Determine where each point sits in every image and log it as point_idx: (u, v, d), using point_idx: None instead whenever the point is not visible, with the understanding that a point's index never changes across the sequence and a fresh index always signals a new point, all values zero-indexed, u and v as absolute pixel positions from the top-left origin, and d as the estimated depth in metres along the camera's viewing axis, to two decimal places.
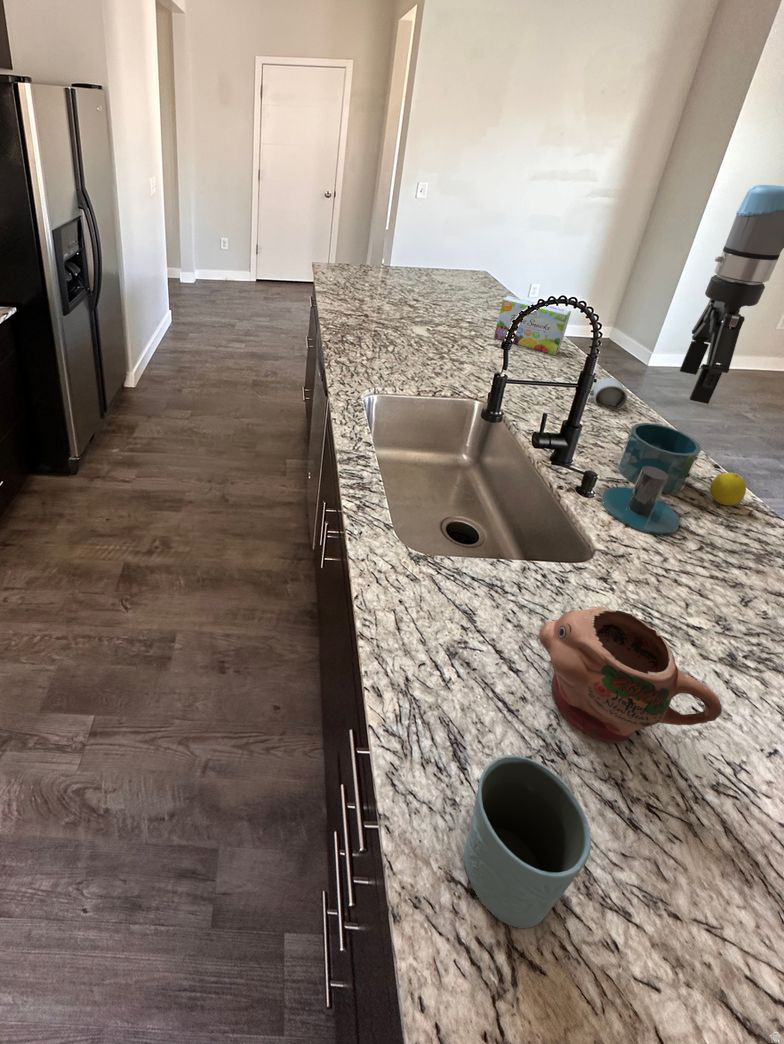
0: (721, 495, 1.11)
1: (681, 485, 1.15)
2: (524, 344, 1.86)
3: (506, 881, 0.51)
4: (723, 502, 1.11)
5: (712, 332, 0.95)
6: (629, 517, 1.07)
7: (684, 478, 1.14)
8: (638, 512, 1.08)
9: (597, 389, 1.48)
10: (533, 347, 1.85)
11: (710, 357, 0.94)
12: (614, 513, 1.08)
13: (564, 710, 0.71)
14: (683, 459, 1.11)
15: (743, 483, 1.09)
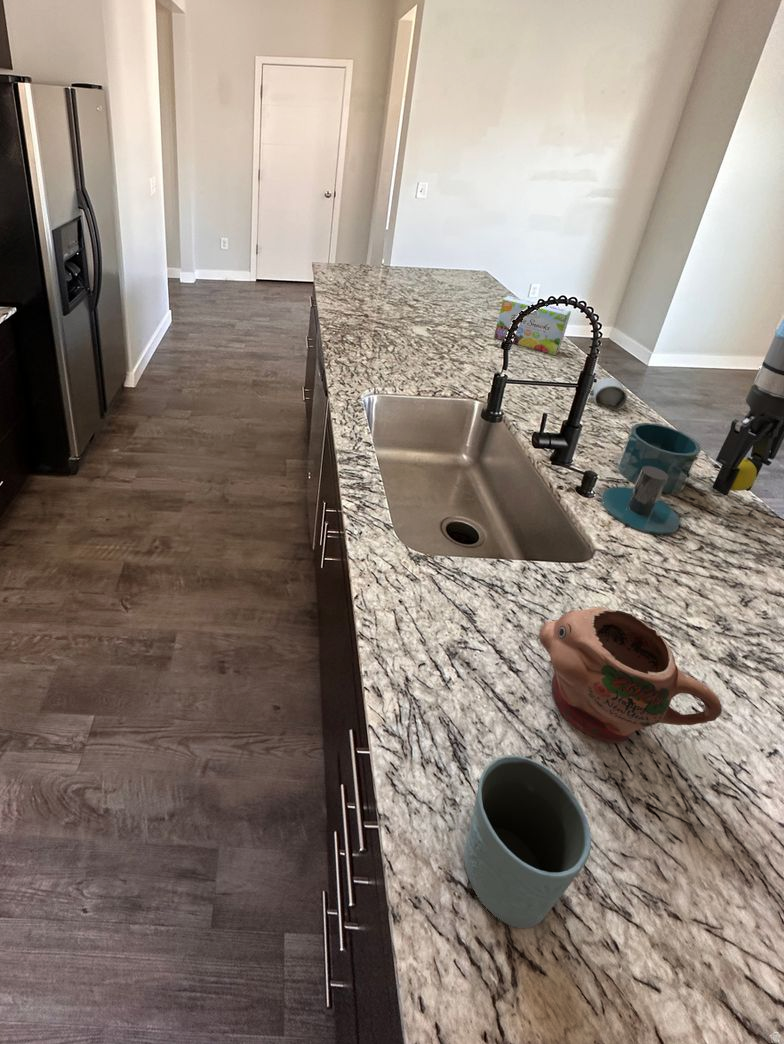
0: None
1: (681, 485, 1.15)
2: (524, 344, 1.86)
3: (506, 881, 0.51)
4: (733, 487, 1.09)
5: None
6: (629, 517, 1.07)
7: (684, 478, 1.14)
8: (638, 512, 1.08)
9: (597, 389, 1.48)
10: (533, 347, 1.85)
11: None
12: (614, 513, 1.08)
13: (564, 710, 0.71)
14: (683, 459, 1.11)
15: (753, 468, 1.07)
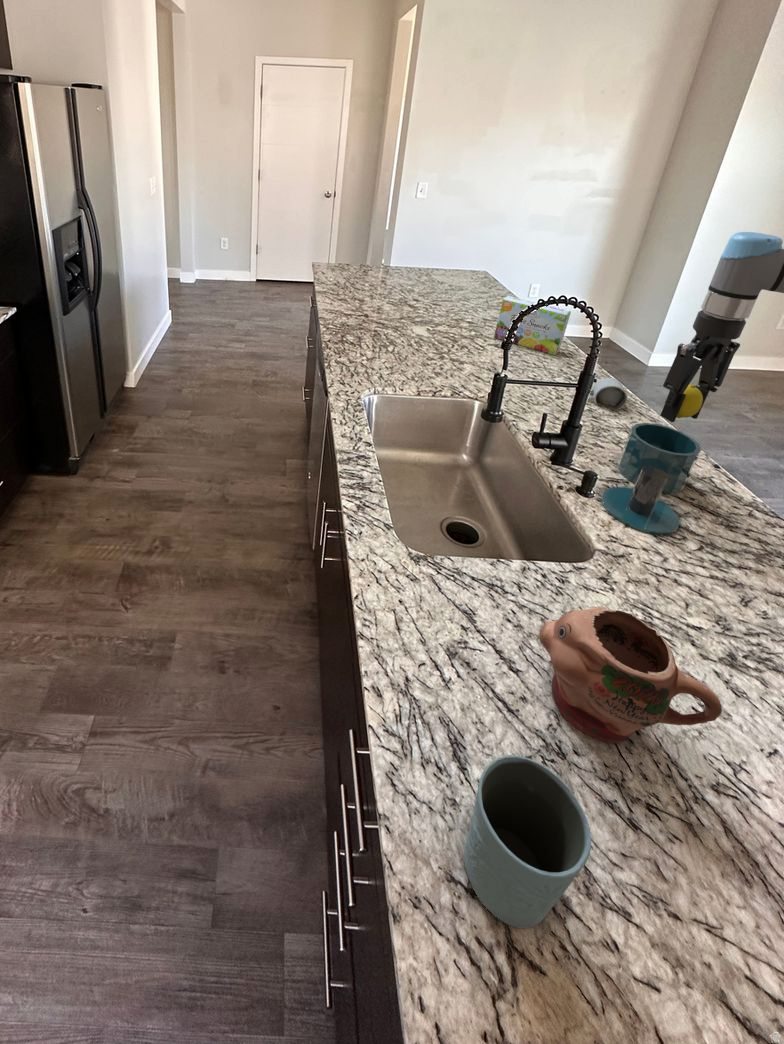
0: None
1: (681, 485, 1.15)
2: (524, 344, 1.86)
3: (506, 881, 0.51)
4: (680, 414, 1.11)
5: None
6: (629, 517, 1.07)
7: (684, 478, 1.14)
8: (638, 512, 1.08)
9: (597, 389, 1.48)
10: (533, 347, 1.85)
11: None
12: (614, 513, 1.08)
13: (564, 710, 0.71)
14: (683, 459, 1.11)
15: (699, 393, 1.09)
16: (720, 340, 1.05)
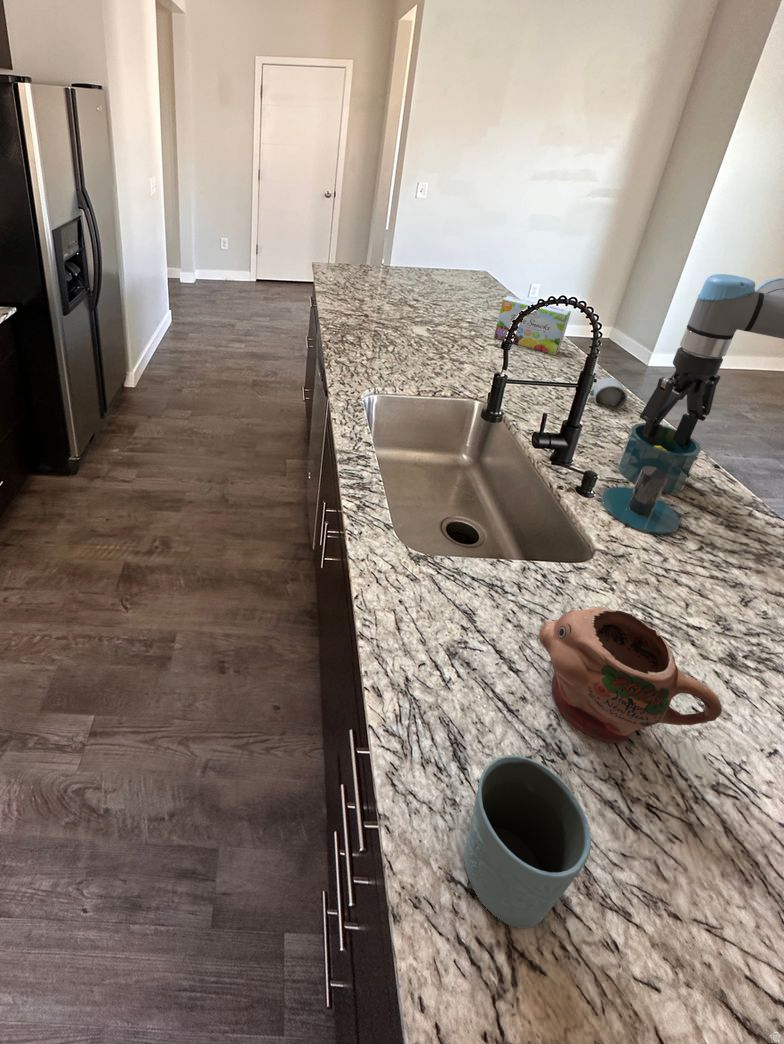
0: None
1: (681, 485, 1.15)
2: (524, 344, 1.86)
3: (506, 881, 0.51)
4: None
5: None
6: (629, 517, 1.07)
7: (684, 478, 1.14)
8: (638, 512, 1.08)
9: (597, 389, 1.48)
10: (533, 347, 1.85)
11: None
12: (614, 513, 1.08)
13: (564, 710, 0.71)
14: (683, 459, 1.11)
15: None
16: (699, 376, 1.09)
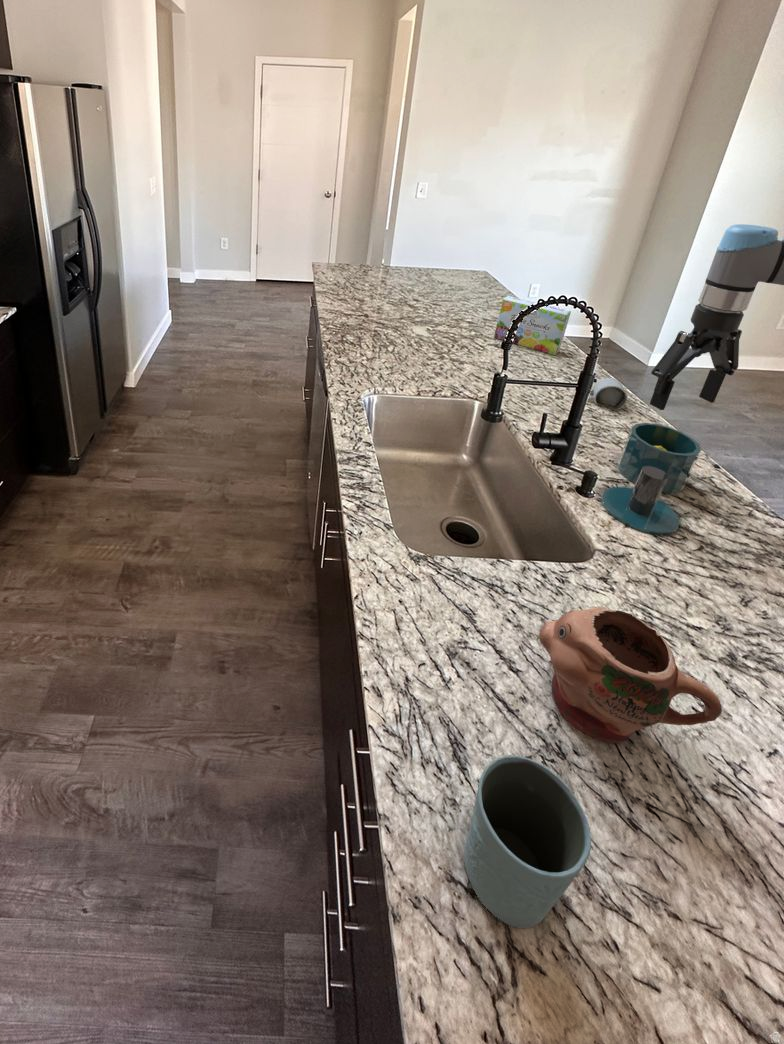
0: None
1: (681, 485, 1.15)
2: (524, 344, 1.86)
3: (506, 881, 0.51)
4: None
5: None
6: (629, 517, 1.07)
7: (684, 478, 1.14)
8: (638, 512, 1.08)
9: (597, 389, 1.48)
10: (533, 347, 1.85)
11: None
12: (614, 513, 1.08)
13: (564, 710, 0.71)
14: (683, 459, 1.11)
15: None
16: (718, 333, 1.05)
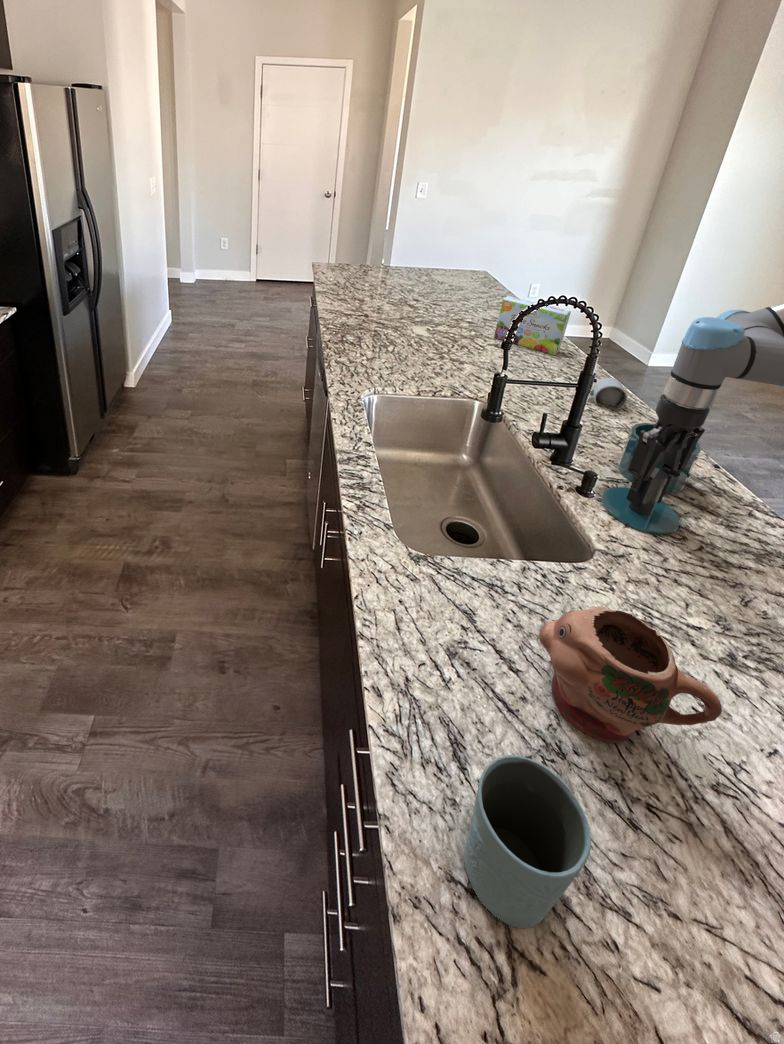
0: None
1: (681, 485, 1.15)
2: (524, 344, 1.86)
3: (506, 881, 0.51)
4: None
5: None
6: (629, 517, 1.07)
7: (684, 478, 1.14)
8: (638, 512, 1.08)
9: (597, 389, 1.48)
10: (533, 347, 1.85)
11: None
12: (614, 513, 1.08)
13: (564, 710, 0.71)
14: None
15: None
16: (683, 426, 1.00)
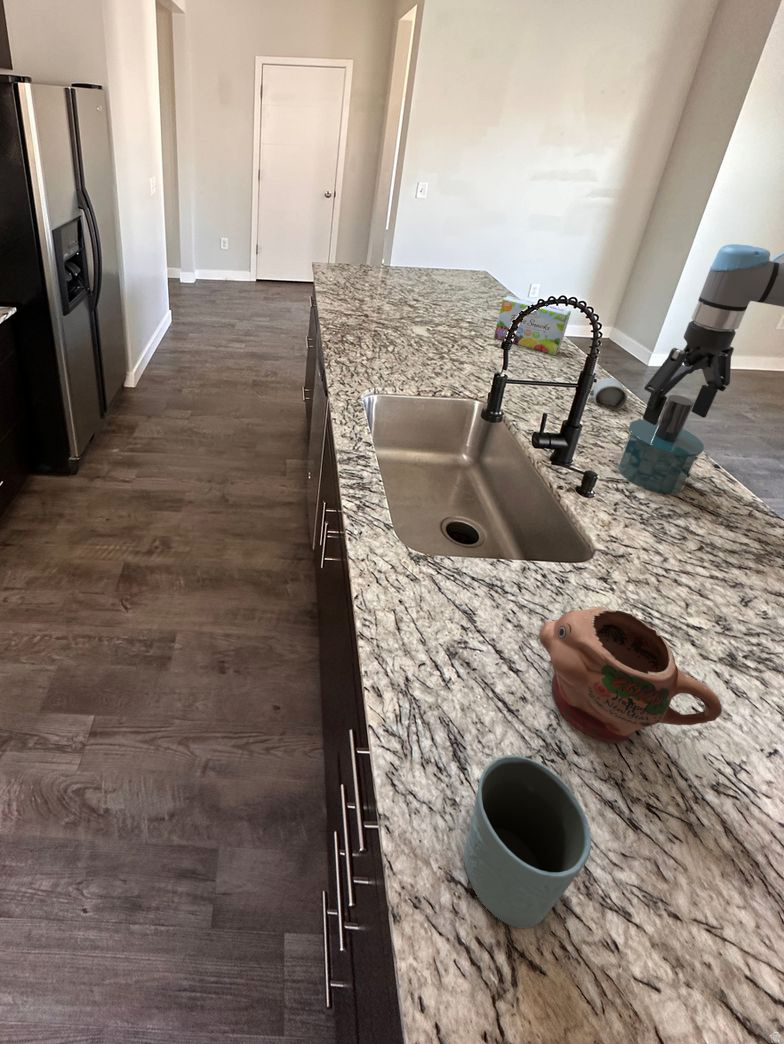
0: None
1: (681, 485, 1.15)
2: (524, 344, 1.86)
3: (506, 881, 0.51)
4: None
5: None
6: (656, 442, 1.14)
7: (684, 478, 1.14)
8: (664, 438, 1.15)
9: (597, 389, 1.48)
10: (533, 347, 1.85)
11: None
12: (642, 439, 1.15)
13: (564, 710, 0.71)
14: (683, 459, 1.11)
15: None
16: (710, 350, 1.07)
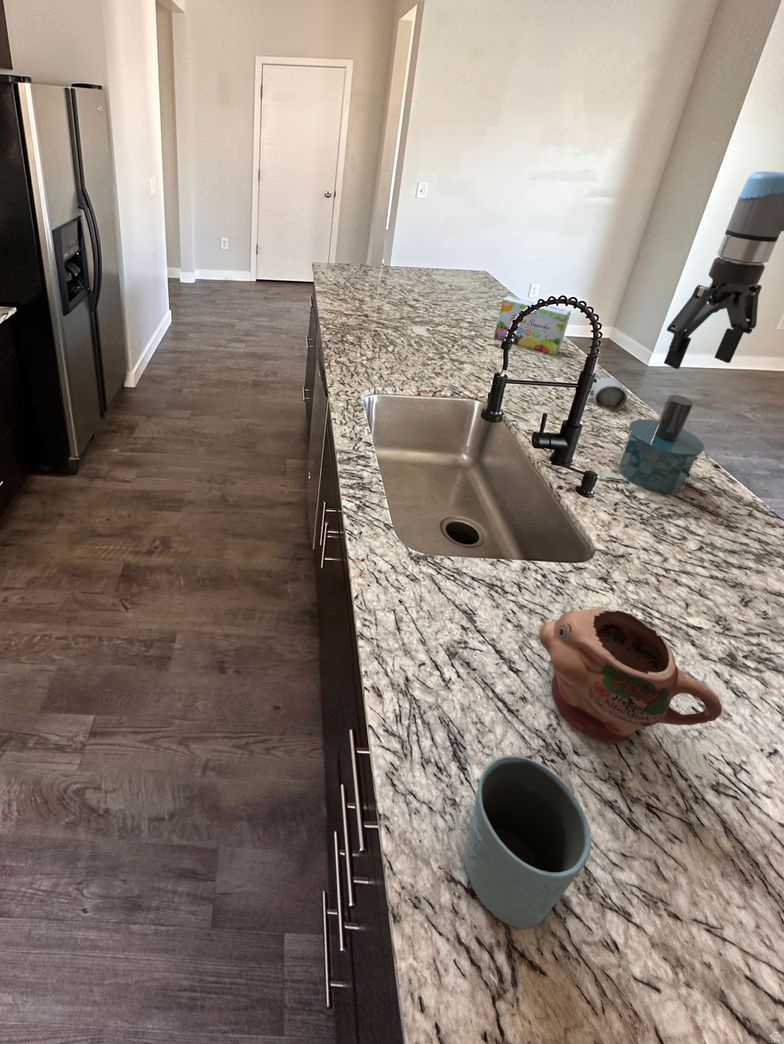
0: None
1: (681, 485, 1.15)
2: (524, 344, 1.86)
3: (506, 881, 0.51)
4: None
5: None
6: (656, 442, 1.14)
7: (684, 478, 1.14)
8: (664, 438, 1.15)
9: (597, 389, 1.48)
10: (533, 347, 1.85)
11: None
12: (642, 439, 1.15)
13: (564, 710, 0.71)
14: (683, 459, 1.11)
15: None
16: (737, 287, 1.01)
